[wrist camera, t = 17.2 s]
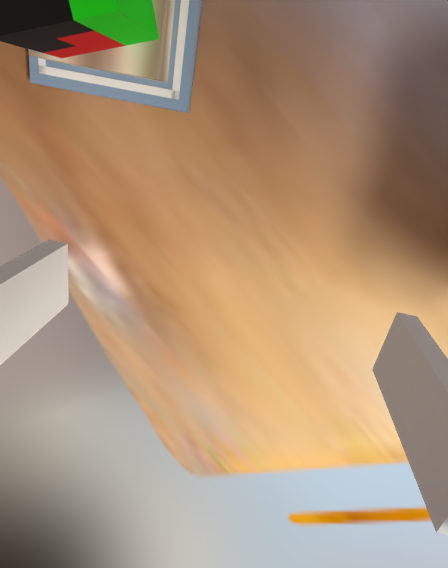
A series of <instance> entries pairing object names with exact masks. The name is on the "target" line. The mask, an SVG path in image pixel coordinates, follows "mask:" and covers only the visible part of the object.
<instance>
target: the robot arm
mask: <svg viewBox="0 0 448 568" xmlns="http://www.w3.org/2000/svg"><path fill="white" fill-rule="evenodd" d="M67 304H68V244H67V243H63V242H58V241H53V240H48V241H46V242H44V243H42V244H40V245H39V246H37V247H35V248H33V249H31V250H30V251H27V252H26V253H24V254H22V255H20V256H19V257H16V258H14V259H13V260H11V261H9V262H7V263H5V264H3V265H1V266H0V365H1V364H2V363H3V362H4V361H5V360H6V359H8V358H9V357H10V356H11V355H12V354H13V353H14V352H15V351H16V350H18V349H19V348H20V347H21V346H22V345H23V344H24V343H25V342H26V341H28V339H30V338H31V337H32V336H33V335H34V334H35V333H36V332H38V331H39V330H40V329H41V328H42V327H43V326H44V325H45V324H46V323H48V322H49V321H50V320H51V319H52V318H53V317H54V316H55V315H56V314H57V313H59V312H60V311H61V310H62V309H63V308H64V307H65V306H66V305H67ZM373 372H374V374H375V377H376V380H377V382H378V385H379V387H380V390H381V392H382V395H383V397H384V400H385V402H386V405H387V408H388V410H389V413H390V415H391V418H392V420H393V423H394V425H395V428H396V431H397V433H398V436H399V438H400V441H401V443H402V446H403V448H404V451H405V453H406V456H407V459H408V461H409V464H410V466H411V469H412V471H413V474H414V476H415V479H416V481H417V484H418V487H419V489H420V492H421V494H422V497H423V499H424V502H425V504H426V507H427V510H428V512H429V515H430V517H431V520H432V522H433V525H434V527H435V530H436V532H437V533H441V534H445V535H448V359H447V357H446V356H445V355H444V353H443V352H442V350H441V349H440V348H439V346H438V345H437V344H436V342H435V341H434V339H433V338H432V337H431V335H430V334H429V332H428V331H427V330H426V328H425V327H424V326H423V324H422V323H421V321H420V320H419V319H418V317H417V316H412V315H407V314H403V313H398V312H397V314H396V316H395V318H394V320H393V323H392V325H391V327H390V330H389V332H388V334H387V337H386V339H385V341H384V344H383V346H382V348H381V351H380V353H379V355H378V358H377V360H376V362H375V365H374V367H373Z"/></svg>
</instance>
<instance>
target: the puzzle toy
mask: <svg viewBox="0 0 448 568" xmlns="http://www.w3.org/2000/svg"><path fill="white" fill-rule="evenodd" d="M158 39H159V36H158V30H157V24H156V19H155V13H154V7H153V2H152V0H0V41H2V42H6V43H9V44H13V45H16V46H20V47H23V48H27V49H30V50H34V51H37V52H41V53H45V54H48V55H52V56H55V57H59V58H66V57H71V56H76V55H81V54H86V53H92V52H97V51H102V50H107V49H112V48H117V47H122V46H127V45H132V44H137V43H142V42H147V41H153V40H158Z"/></svg>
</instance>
